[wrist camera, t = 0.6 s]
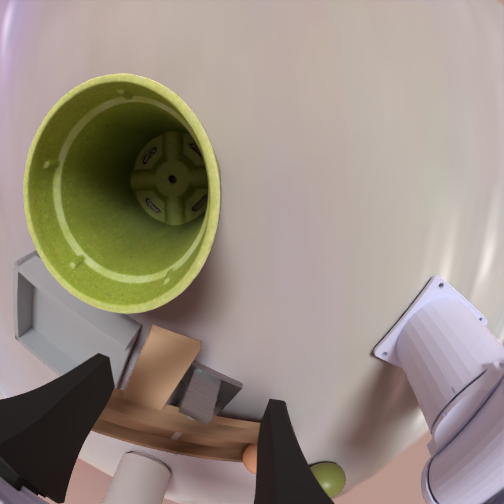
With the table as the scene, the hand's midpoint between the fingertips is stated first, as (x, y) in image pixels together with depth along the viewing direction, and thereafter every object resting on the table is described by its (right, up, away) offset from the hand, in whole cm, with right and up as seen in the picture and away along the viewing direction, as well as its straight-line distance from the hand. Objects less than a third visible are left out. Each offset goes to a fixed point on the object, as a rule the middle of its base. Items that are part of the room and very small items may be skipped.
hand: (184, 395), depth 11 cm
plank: (0, -6, +9) cm, 10 cm away
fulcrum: (-3, -7, +13) cm, 15 cm away
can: (-12, -25, +20) cm, 34 cm away
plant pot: (-2, +11, +7) cm, 13 cm away
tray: (-14, -1, +12) cm, 18 cm away
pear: (+11, -23, +18) cm, 31 cm away
